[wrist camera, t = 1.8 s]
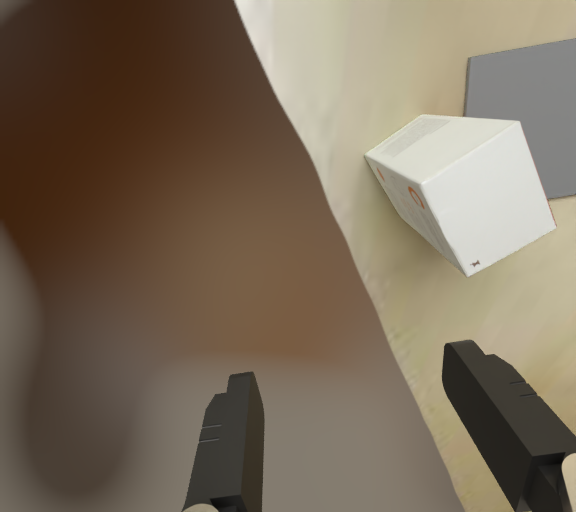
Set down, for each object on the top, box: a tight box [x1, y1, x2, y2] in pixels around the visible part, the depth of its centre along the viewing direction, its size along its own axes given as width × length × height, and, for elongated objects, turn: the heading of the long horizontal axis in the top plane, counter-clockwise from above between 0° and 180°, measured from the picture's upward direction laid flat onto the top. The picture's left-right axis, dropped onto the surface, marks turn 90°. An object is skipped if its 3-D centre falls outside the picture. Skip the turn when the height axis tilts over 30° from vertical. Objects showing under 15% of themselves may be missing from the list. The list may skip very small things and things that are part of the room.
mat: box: [464, 38, 576, 199], centre depth 30 cm, size 14×15×1 cm
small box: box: [364, 114, 557, 277], centre depth 25 cm, size 8×6×13 cm
